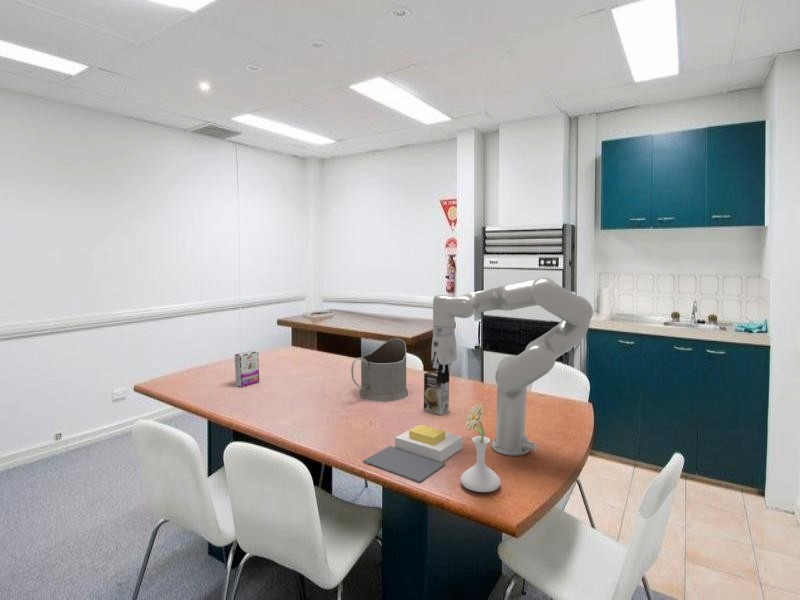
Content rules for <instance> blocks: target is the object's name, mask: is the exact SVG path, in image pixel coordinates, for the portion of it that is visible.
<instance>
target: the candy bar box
mask: <svg viewBox="0 0 800 600" xmlns="http://www.w3.org/2000/svg"><path fill="white" fill-rule="evenodd" d="M259 362H260V361H259V351H258V350H249V351H243V352H239V353H236V354H234V368H235V372H234V374H235V386H236V385H237V386H236V387H238V386H241V387H240V388H244V387H243V386H245V387H248V386H247V385H249V386H251V385H250V384H252V385H255V384H258V383H257V382H259V383H260V369H259V368H260V366H259V365H260V364H259ZM254 383H255V384H254Z"/></svg>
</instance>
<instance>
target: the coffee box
mask: <svg viewBox="0 0 800 600" xmlns="http://www.w3.org/2000/svg"><path fill="white" fill-rule="evenodd" d="M449 377H450V374H449ZM449 408H450V381H449V382H446V383H445V384H442V383H438V382H437V371H436V370H433V371H428V372H424V373H423V411H425V412H428V413H431V414H434V415H438V416H442V415H445V414H447V413H449V412H450V409H449Z"/></svg>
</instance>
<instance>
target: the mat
mask: <svg viewBox="0 0 800 600" xmlns="http://www.w3.org/2000/svg"><path fill="white" fill-rule="evenodd" d="M363 462H365V463H364V464H366V463H368V464H367V465H369V464H371V465H370V466H372V465H374V466H376V467H375V468H377V467H379V468H378V469H380V468H381V469H380V470H383V469H384V470H383V471H385V470H387V471H386V472H388V471H389V472H388V473H391V472H392V473H391V474H394V475H396V474H398V475H397V476H399V475H400V476H399V477H402V476H403V477H402V478H404V479H407V478H408V479H407V480H410V481H413V482H416V483H418V484H421V483H422V482H424V481H425V480H427V479H428V478H429V477H431V476H433V474H435V473H437V472H438V471H440V470H441V469H442V468H443V467H445V466H446V463H445V462H439V461H436V460H433V459H430V458H427V457H424V456H420V455H417V454H414V453H411V452H408V451H405V450H402V449H399V448H395V446H392V445H389V446H387V447H385V448H383V449H381V450H379V451H378V452H375V453H374V454H373V455H370V456H369V457H366V458H364V459H363V460H362V463H363ZM374 466H373V467H374Z"/></svg>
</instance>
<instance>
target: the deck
mask: <svg viewBox="0 0 800 600" xmlns="http://www.w3.org/2000/svg"><path fill="white" fill-rule="evenodd" d="M417 426H419V425H415V426H414V427H412V428H411V429H409V430H407V431H404V432H403V433H401V434H400V435H397V436H395V437H394V447H395V448H399V449H402V450H405V451H408V452H411V453H414V454H417V455H420V456H424V457H427V458H430V459H433V460H436V461H439V462H442V463H444V461H446V460H447V459H449V458H450V457H451V456H453V455H455V454H456V453H457V452H458V453H459V451H461V450H462V449H463V436H460V435H456V434H452V433H448V432H446V431H445V439H444V440H442V441H440V442H439V443H437V444H435V445H431V444H428V443H424V442H421V441H418V440H414V439H411V438H409V431H410V430H412V429H413V428H415V427H417Z"/></svg>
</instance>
